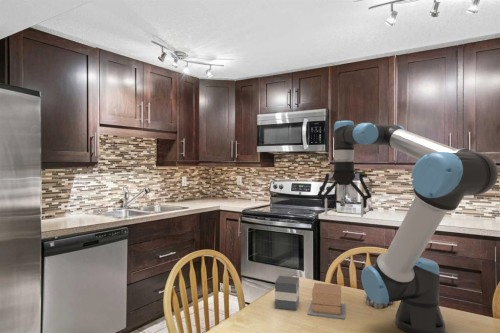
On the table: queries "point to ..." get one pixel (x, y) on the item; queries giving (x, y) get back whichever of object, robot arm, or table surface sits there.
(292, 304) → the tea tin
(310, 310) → the rubber mat
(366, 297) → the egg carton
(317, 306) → the wooden block stack
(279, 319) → the table surface
